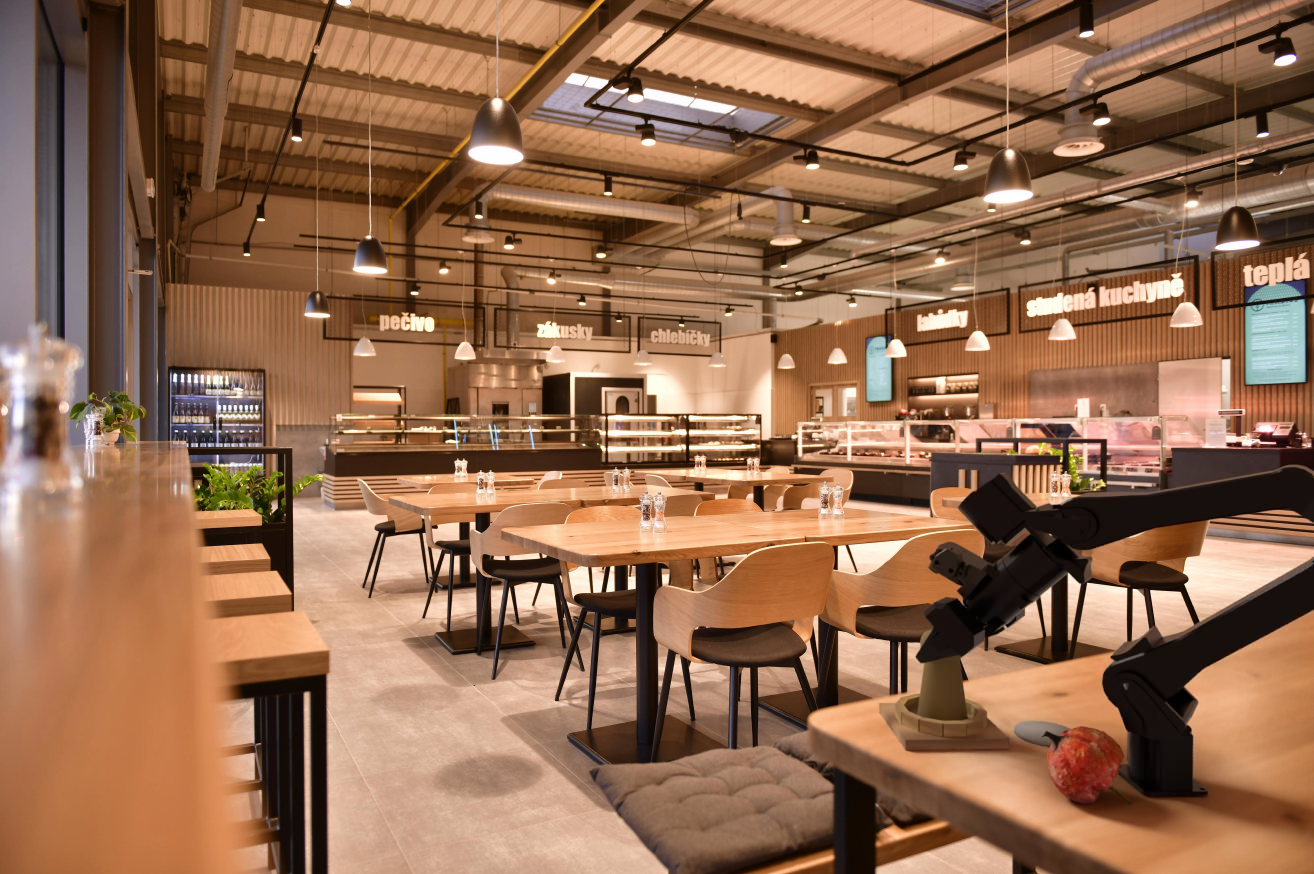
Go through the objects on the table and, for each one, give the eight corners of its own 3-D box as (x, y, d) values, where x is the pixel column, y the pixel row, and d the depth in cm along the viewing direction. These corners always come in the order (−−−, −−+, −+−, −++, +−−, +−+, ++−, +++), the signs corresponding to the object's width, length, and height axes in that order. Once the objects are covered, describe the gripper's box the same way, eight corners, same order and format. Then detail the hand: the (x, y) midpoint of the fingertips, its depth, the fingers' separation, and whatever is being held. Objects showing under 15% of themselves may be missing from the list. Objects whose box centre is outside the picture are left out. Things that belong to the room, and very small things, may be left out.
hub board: (1009, 748, 97) (1009, 725, 97) (905, 749, 97) (905, 726, 97) (971, 711, 109) (971, 690, 109) (879, 712, 109) (879, 691, 109)
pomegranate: (1110, 805, 88) (1027, 735, 91) (1160, 762, 85) (1072, 692, 88) (1103, 844, 82) (1015, 768, 85) (1157, 800, 78) (1063, 722, 82)
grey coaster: (1089, 746, 97) (1089, 743, 97) (1029, 746, 98) (1029, 743, 98) (1061, 723, 104) (1061, 720, 104) (1004, 724, 105) (1004, 720, 104)
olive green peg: (940, 707, 107) (940, 622, 107) (979, 722, 102) (979, 633, 101) (906, 716, 104) (905, 629, 104) (944, 732, 99) (944, 640, 99)
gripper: (998, 514, 107) (916, 588, 114) (941, 532, 93) (851, 616, 100) (1065, 582, 102) (974, 656, 109) (1015, 613, 88) (915, 695, 95)
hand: (929, 653), depth 104 cm, fingers open, 6 cm apart
